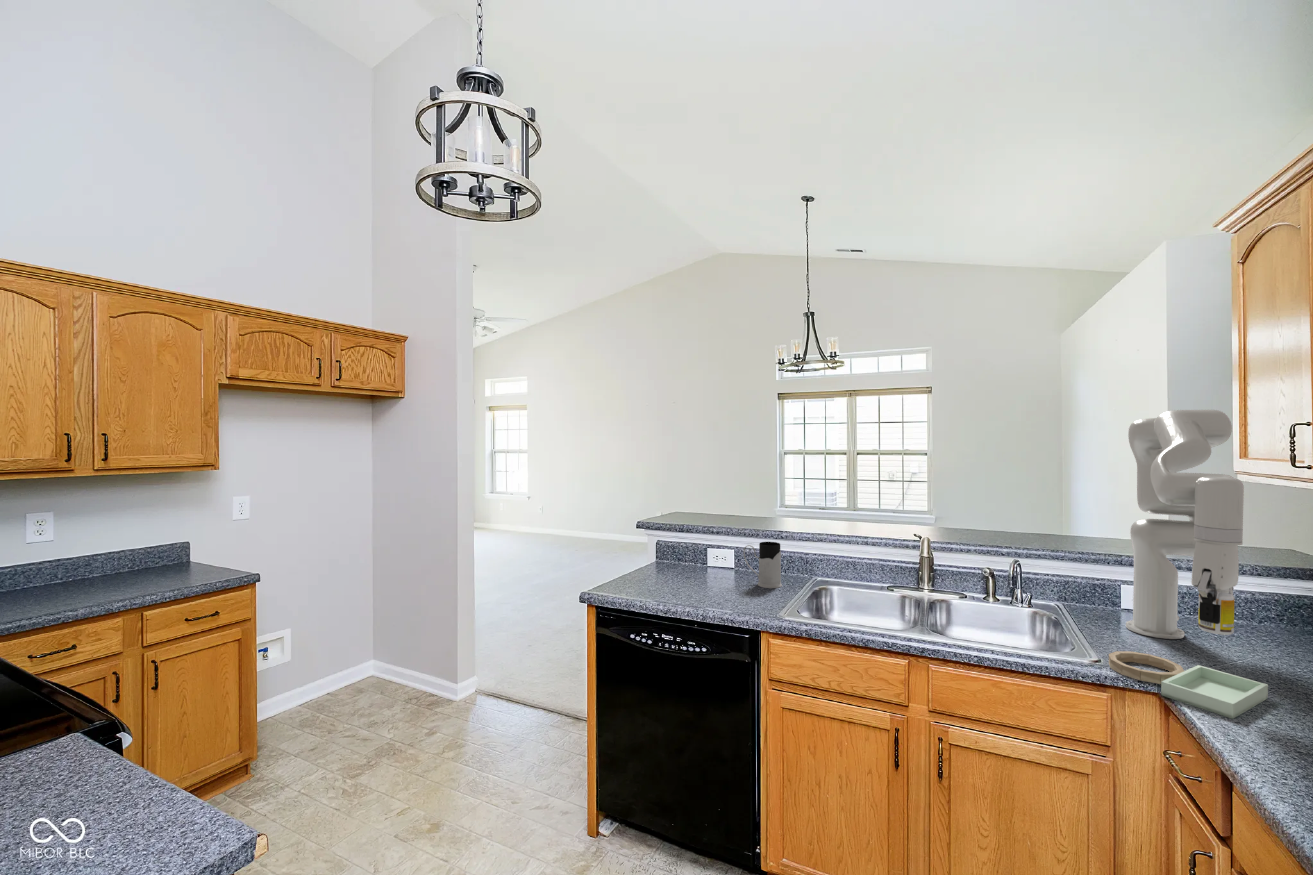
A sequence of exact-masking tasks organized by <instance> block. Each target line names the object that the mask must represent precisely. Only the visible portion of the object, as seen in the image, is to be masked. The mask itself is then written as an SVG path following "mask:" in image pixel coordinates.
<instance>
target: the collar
mask: <svg viewBox="0 0 1313 875" xmlns="http://www.w3.org/2000/svg"><path fill="white" fill-rule="evenodd" d="M1126 663H1134V664H1135V663H1137V664H1142V665H1148V666H1152V667H1155V668H1159V669H1162V670H1164V669H1165V670H1164V671H1165V672H1164V671H1155V670H1146V669H1141V668H1139V667H1135V666H1131V665H1128V664H1126ZM1108 665H1109V668H1110V669H1111V670H1112V671H1114V672H1117V673H1119V674H1120V675H1122V676H1124V677H1129V678H1132V679H1135V680H1138V681H1143V682H1147V683H1152V684H1153V683H1154V684H1158V685H1161V681H1164V680H1166V679H1168V678H1170V677H1173V676H1175V675H1177V674H1179V673H1181V672H1184V671H1185V670H1184V668H1183V667H1182V665H1180V664H1178V663H1176V662H1174V661H1172V660H1170V659H1168V658H1165V657H1164V658H1163V657H1161V656H1157V655H1153V654H1150V653H1143V652H1137V651H1132V650H1131V651H1130V650H1128V651H1127V650H1126V651H1124V650H1120V651H1118V650H1117V651H1114V652H1113V651H1112V652H1110V653H1108ZM1166 670H1168V671H1169V672H1168V671H1166Z"/></svg>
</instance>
